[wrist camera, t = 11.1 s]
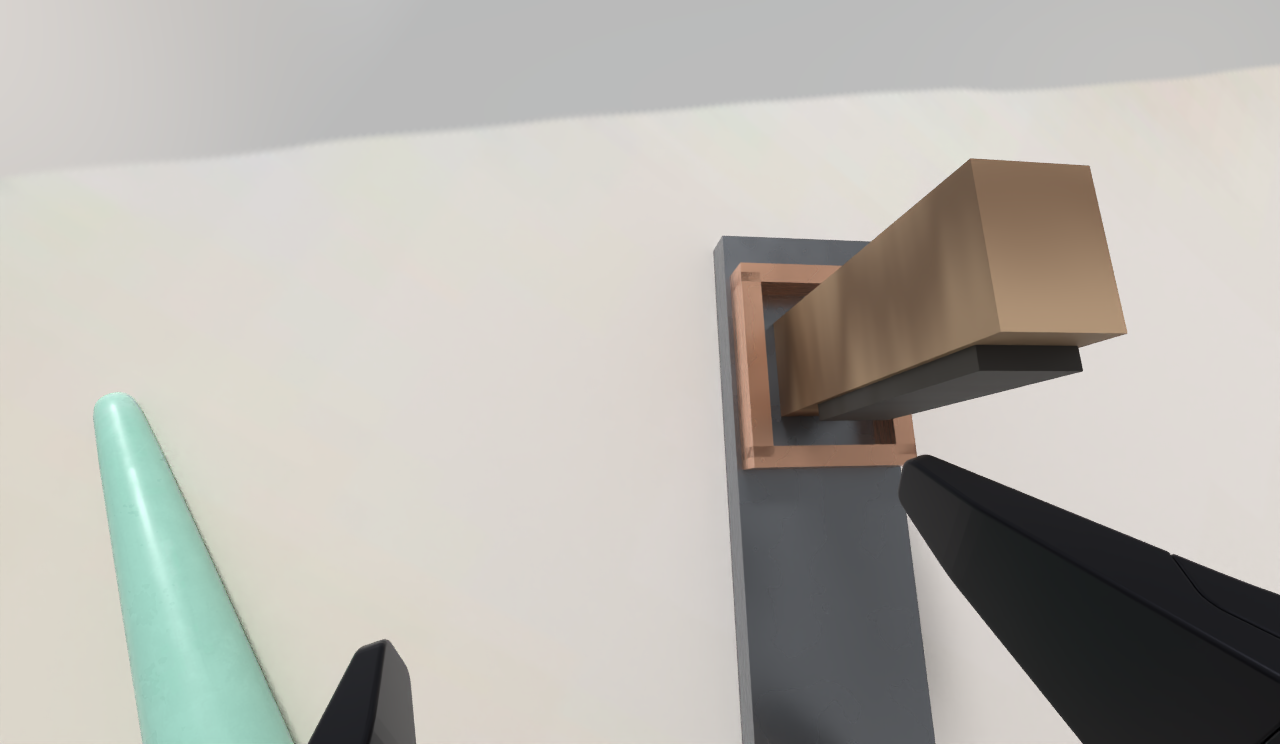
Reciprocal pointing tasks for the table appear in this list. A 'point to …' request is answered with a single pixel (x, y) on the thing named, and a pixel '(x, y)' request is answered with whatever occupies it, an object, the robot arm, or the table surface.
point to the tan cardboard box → (956, 298)
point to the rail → (813, 529)
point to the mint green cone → (175, 600)
